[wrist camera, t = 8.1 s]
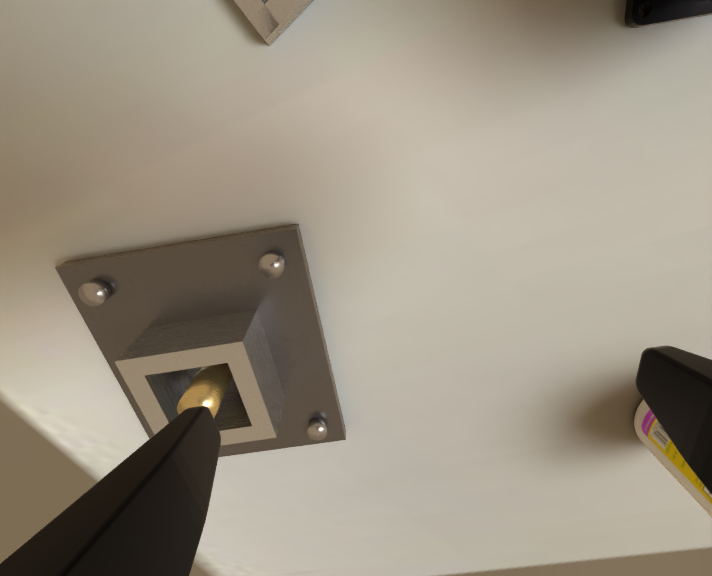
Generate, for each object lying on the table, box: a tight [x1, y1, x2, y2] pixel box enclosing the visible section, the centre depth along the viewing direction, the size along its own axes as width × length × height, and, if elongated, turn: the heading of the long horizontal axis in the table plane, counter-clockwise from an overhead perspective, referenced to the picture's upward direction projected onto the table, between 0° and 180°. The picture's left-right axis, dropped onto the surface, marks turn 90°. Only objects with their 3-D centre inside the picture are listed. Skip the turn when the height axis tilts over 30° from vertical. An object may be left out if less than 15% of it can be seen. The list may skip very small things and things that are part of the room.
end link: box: [114, 310, 285, 446], centre depth 19 cm, size 6×6×3 cm
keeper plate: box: [55, 224, 346, 457], centre depth 19 cm, size 12×14×4 cm
